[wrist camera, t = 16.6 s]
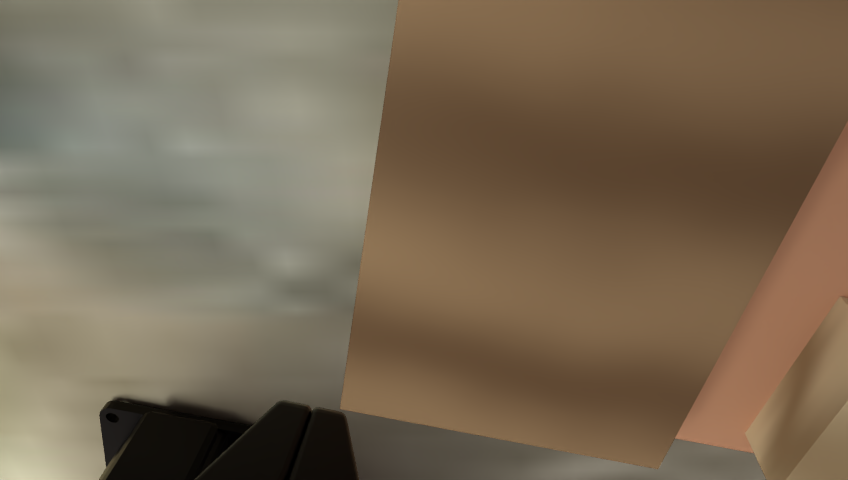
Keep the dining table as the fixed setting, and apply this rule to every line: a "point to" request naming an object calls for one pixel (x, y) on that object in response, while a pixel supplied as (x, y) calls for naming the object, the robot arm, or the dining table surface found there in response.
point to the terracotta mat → (779, 312)
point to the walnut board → (582, 208)
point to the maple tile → (809, 410)
